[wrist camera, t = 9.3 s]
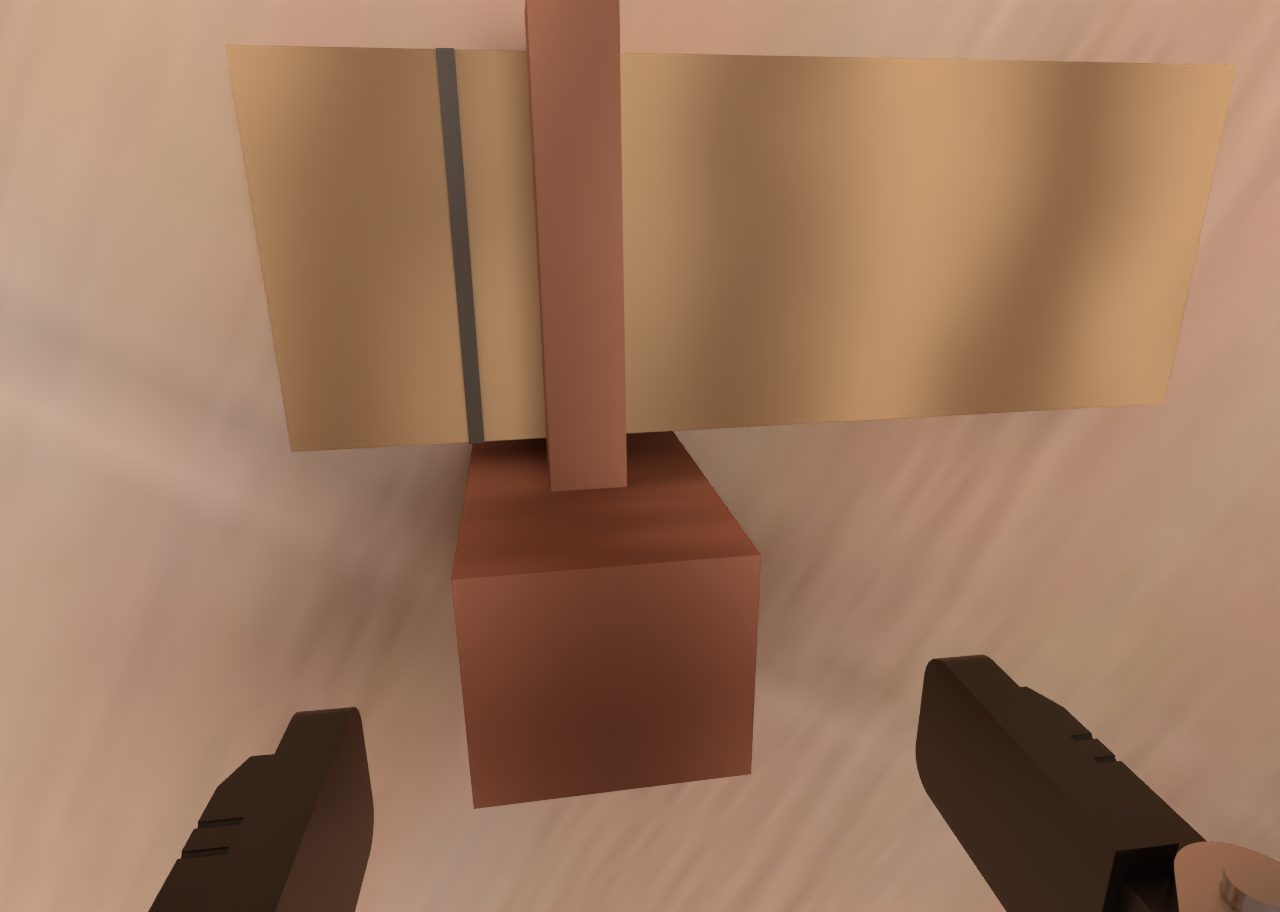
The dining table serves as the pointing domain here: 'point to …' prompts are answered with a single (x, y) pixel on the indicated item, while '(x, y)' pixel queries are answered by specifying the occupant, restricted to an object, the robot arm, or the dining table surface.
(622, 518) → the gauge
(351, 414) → the board
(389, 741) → the dining table surface
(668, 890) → the dining table surface
